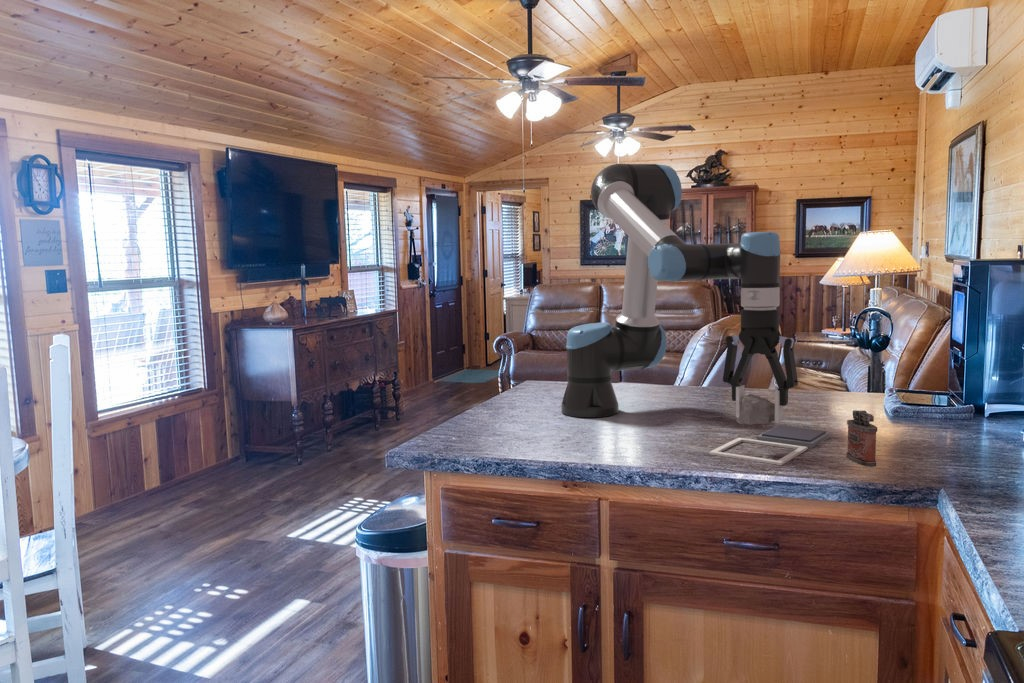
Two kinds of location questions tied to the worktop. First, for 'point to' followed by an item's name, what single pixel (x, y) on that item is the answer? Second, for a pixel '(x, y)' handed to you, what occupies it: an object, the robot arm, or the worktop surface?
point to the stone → (756, 410)
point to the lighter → (862, 439)
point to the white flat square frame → (780, 462)
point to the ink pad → (794, 436)
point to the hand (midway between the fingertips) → (759, 418)
